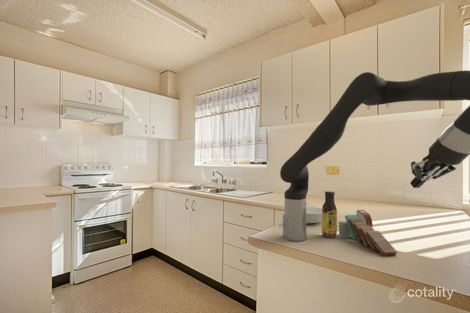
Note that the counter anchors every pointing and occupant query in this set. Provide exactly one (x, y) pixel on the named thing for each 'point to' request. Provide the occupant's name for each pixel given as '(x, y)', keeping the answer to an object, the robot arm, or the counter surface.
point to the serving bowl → (313, 214)
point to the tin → (364, 217)
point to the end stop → (344, 229)
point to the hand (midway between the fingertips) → (413, 185)
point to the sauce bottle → (329, 215)
